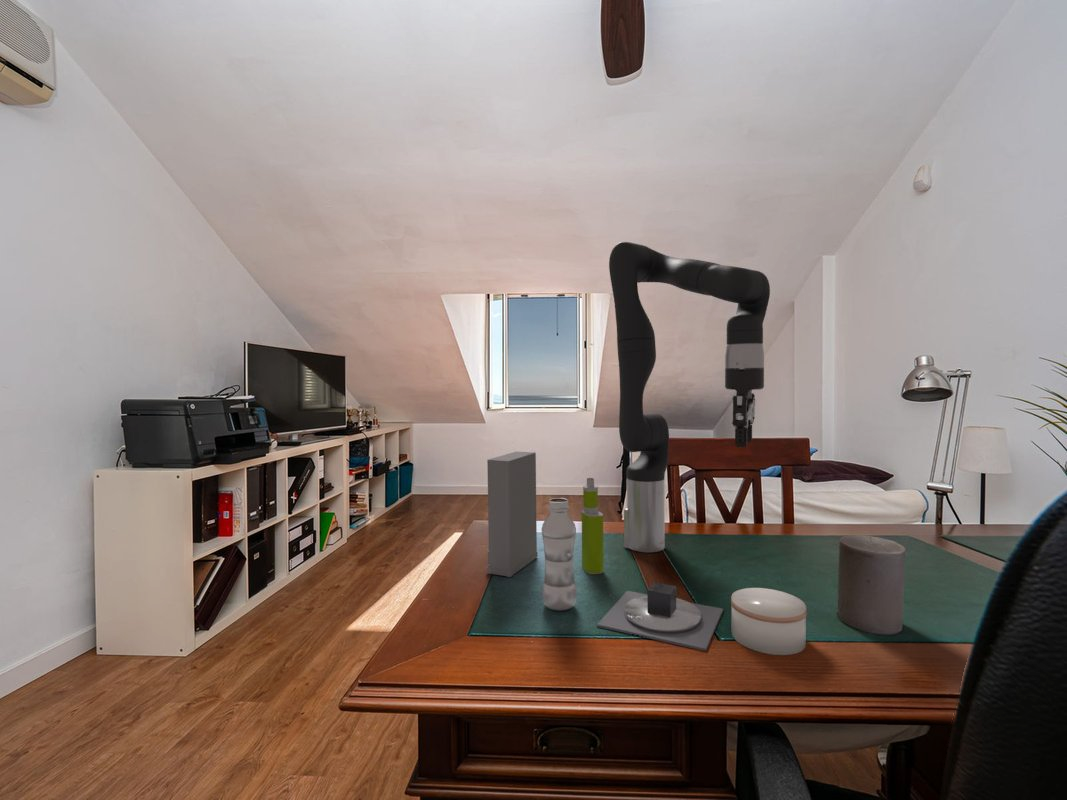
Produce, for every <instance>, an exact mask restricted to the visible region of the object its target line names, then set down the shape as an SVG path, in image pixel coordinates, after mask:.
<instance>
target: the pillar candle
mask: <svg viewBox="0 0 1067 800" xmlns="http://www.w3.org/2000/svg"><path fill="white" fill-rule="evenodd" d="M838 544H839V546H838V549H839V551H838V573H837V574H838V575H837V576H838V577H837V578H838V581H837V612H836V617H837V619H838V620H839V621H840V622H842V623H843V624H845V625H847V626H848V627H851V628H853V629H856V630H857V631H861V632H865V633H869V634H870V633H871V634H875V635H895V634H899V633H900V632H902V630H903V617H904V598H905V597H904V595H905V592H904V590H905V564H906V547H904V546H903V545H902V544H900V543H898V542H896V541H894V540H891V539H890V540H889V539H886V538H882V537H876V536H872V535H862V534H861V535H860V534H854V535H853V534H852V535H845V536H844V535H843V536H842V537H840V538H839V542H838Z"/></svg>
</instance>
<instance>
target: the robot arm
mask: <svg viewBox="0 0 1067 800" xmlns="http://www.w3.org/2000/svg"><path fill="white" fill-rule="evenodd" d="M608 261H609V262H608V269H609V270H608V271H609V279H610V283H611V284H610V285H611V291H612V296H613V302H614V311H615V324H616V342H617V344H616V345H617V347H616V348H617V356H618V367H619V368H618V371H619V375H618V376H619V413H618V414H619V417H618V419H619V420H618V430H619V431H618V432H619V439H620V442H621V443H620V444H621V445H622V446H623V448H624V449H625V450H626V451H628V452H630V453H639V456H638V458H637V459H636V460H634V461H633V462H632V463H631V464H629V465H628V466H627V467H626V471H625V472H626V507H625V508H624V509H623V548H626V549H629V550H631V551H635V552H639V553H657V552H661V551H664V549H665V542H666V537H665V532H666V531H665V521H666V519H665V516H666V515H665V511H666V510H665V509H666V508H665V503H666V501H665V497H666V496H665V491H666V490H665V486H666V484H665V476H666V475H665V473H666V470H667V468H668V465H669V464H668V462H669V446H670V430H669V425H668V423H667V420H666V419H665V417H664V416H662V414H660V413H658V412H657V413H656V412H653V413H652V412H651V413H650V412H649V413H648V412H645V413H644V402H643V401H644V400H643V399H644V392H645V387H646V386H647V383H648V381H649V379H650V376H651V374H652V372H653V370H654V367H655V364H656V361H657V360H656V359H657V350H656V349H657V347H656V336H655V331H654V327H653V324H652V322H651V319H649V317H648V314H647V313H646V311H645V309H644V306H643V304H642V302H641V299H640V296H639V289H638V287H639V286H638V284H639V283H661V284H667V285H671V286H674V287H676V288H678V289H681V290H684V291H687V292H691V293H694V294H698V295H699V294H700V295H703V296H710V297H714V298H715V299H719V300H722V301H725V302H730V303H733V304H734V303H735V304H737V308H736V313H735V315H734V316H732V317H730V318H729V319H728V320H727V323H726V347H725V348H726V349H725V355H724V357H725V358H724V365H725V366H724V388H725V389H726V390H733V391H734V390H735V391H736V395H733V397H732V423H731V424H732V426H733V428H734V446H735V447H737V448H747V446H748V443H751V442H752V441H753V425H754V423H755V414H756V410H755V408H756V407H755V406H756V398H755V393H753V392H752V391H753V390H754V391H755V390H756V391H757V390H763V389H764V388H765V352H764V327H763V326H764V320H765V317H766V315H767V311H768V310H767V309H768V305H769V301H770V295H771V285H770V282H769V278H768V277H767V275H766V274H765V273H764V272H762V271H760V270H756V269H750V268H746V267H740V266H731V265H723V264H722V265H721V264H719V263H715V262H712V261H707V260H700V259H695V258H693V259H692V258H677V257H672V256H669V255H666V254H664V253H661V252H659V251H656V250H655V249H652V248H650V247H648V246H646V245H643V244H639V243H635V242H630V241H620V242H618V243H616V244H615V245H614V247H613V248H612V249H611V252H610V254H609V260H608Z"/></svg>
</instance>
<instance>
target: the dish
mask: <svg viewBox="0 0 1067 800" xmlns="http://www.w3.org/2000/svg"><path fill="white" fill-rule="evenodd" d="M730 596H731V597H730V605H731V624H730V625H731V628H730V629H731V632H732V633H731V636H732V638H733V637H734V638H735V639H734V638H733V639H734V640H735V641H736V642H737V643H739V644H740V645H741V646H744V647H745V648H748V649H750V650H752V651H756V652H758V653H763V654H766V655H773V656H790V655H795V654H798V653H801V652H802V651H804V650H805V649H806V643H807V642H806V639H807V636H806V635H807V634H806V631H807V630H806V627H807V621H806V620H807V619H806V618H807V615H808V614H807V611H808V608H807V606H806V603H804V601H803V600H802V599H800V598H799V597H796V596H795V595H792V594H790V593H788V592H785V591H780V590H777V589H771V588H767V587H765V588H763V587H747V588H746V587H745V588H742V589H738V590H736V591H733V592H732V595H730Z"/></svg>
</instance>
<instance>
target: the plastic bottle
mask: <svg viewBox="0 0 1067 800" xmlns="http://www.w3.org/2000/svg"><path fill="white" fill-rule="evenodd" d="M569 511H570V507H569V499H567V498H564V497H560V498H559V497H558V498H557V497H556V498H555V497H554V498H550V499H549V501H548V512H549V514H548V515H547V516H546V518H545V519H544V522H543V523H542V527H541V535H542V536H541V537H542V544H543V548H544V550H543V553H544V581H543V582H542V583H543V584H542V589H541V591H542V593H541V596H542V597H541V598H542V602H543V603H544V605H545V606H546V607H547V608H548V610H549V609H550V610H552V611H568V610H570V609H571V608H573V607H574V606H575V603H576V601H577V597H578V596H577V595H578V590H577V584H576V580H575V570H574V553H575V543H576V542H575V541H576V535H577V528H576V525H575V522H574V520H573V518H572V517H571V516H570V515H569V513H568V512H569Z"/></svg>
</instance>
